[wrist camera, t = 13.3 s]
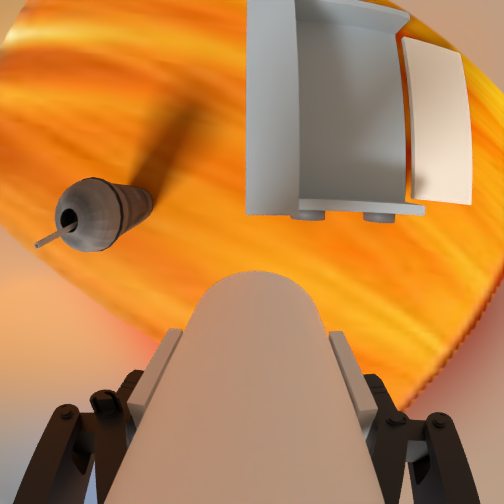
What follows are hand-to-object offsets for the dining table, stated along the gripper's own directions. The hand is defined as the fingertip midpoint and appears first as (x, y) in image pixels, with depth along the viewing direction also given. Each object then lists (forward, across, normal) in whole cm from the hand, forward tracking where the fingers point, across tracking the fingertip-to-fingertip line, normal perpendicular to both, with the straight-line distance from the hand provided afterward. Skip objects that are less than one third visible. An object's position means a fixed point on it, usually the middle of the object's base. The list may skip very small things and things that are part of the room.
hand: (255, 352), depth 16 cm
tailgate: (+18, +18, +19) cm, 31 cm away
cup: (+3, 0, 0) cm, 3 cm away
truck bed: (+22, +8, +19) cm, 30 cm away
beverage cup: (+22, -16, +7) cm, 28 cm away
